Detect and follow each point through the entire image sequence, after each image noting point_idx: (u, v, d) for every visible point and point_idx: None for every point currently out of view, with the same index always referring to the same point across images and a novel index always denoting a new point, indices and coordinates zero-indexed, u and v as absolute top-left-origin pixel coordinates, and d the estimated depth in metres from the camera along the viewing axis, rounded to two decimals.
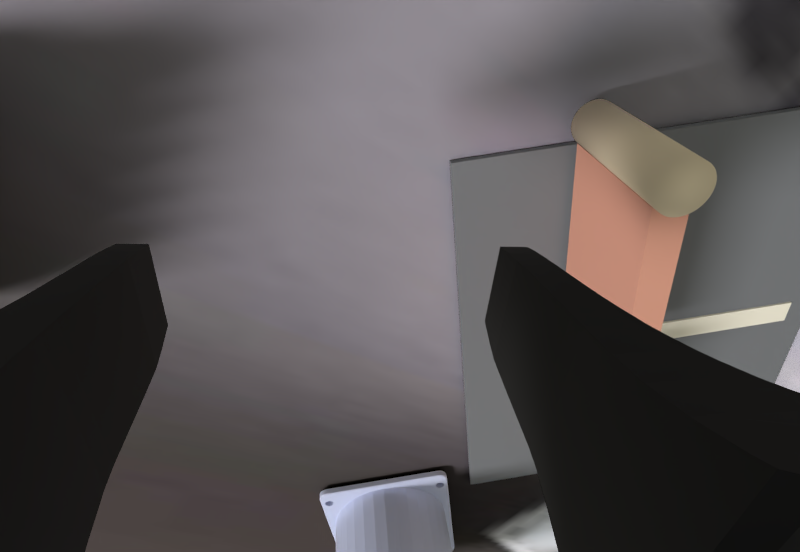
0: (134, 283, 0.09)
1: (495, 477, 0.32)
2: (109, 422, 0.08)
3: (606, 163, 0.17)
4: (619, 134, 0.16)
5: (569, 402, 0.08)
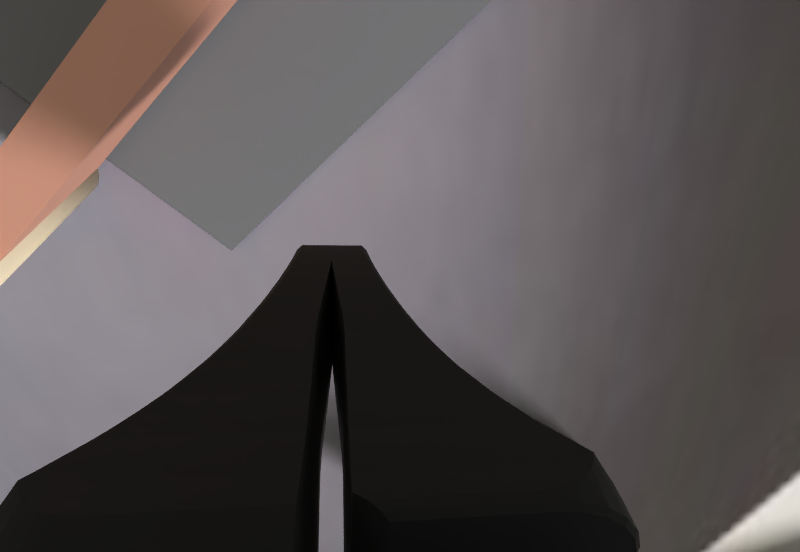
0: (331, 282, 0.09)
1: None
2: (322, 414, 0.09)
3: (55, 224, 0.14)
4: None
5: (343, 410, 0.07)
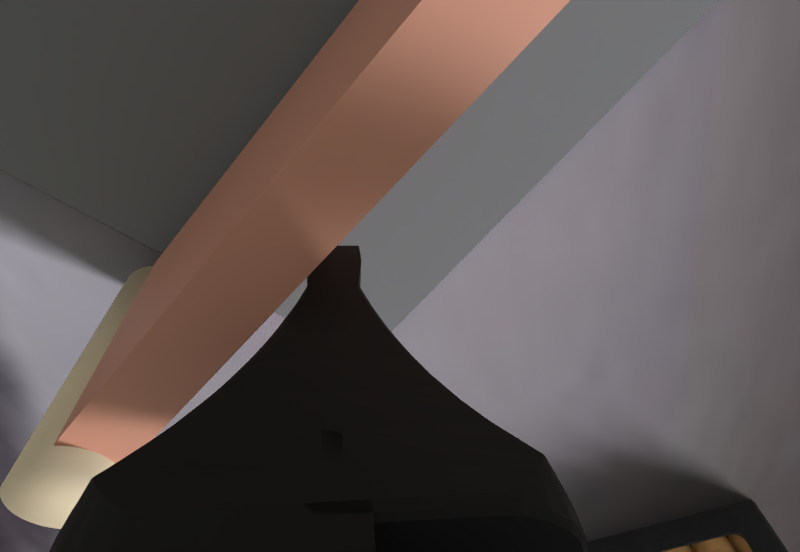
0: (359, 282, 0.10)
1: None
2: None
3: None
4: None
5: None
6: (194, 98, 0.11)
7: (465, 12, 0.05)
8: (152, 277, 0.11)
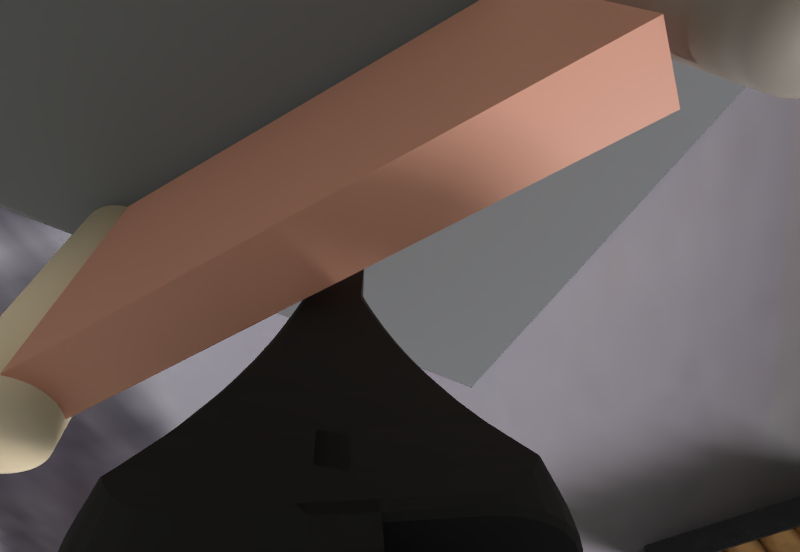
0: (362, 282, 0.10)
1: None
2: None
3: None
4: None
5: None
6: None
7: (594, 91, 0.06)
8: (137, 220, 0.10)
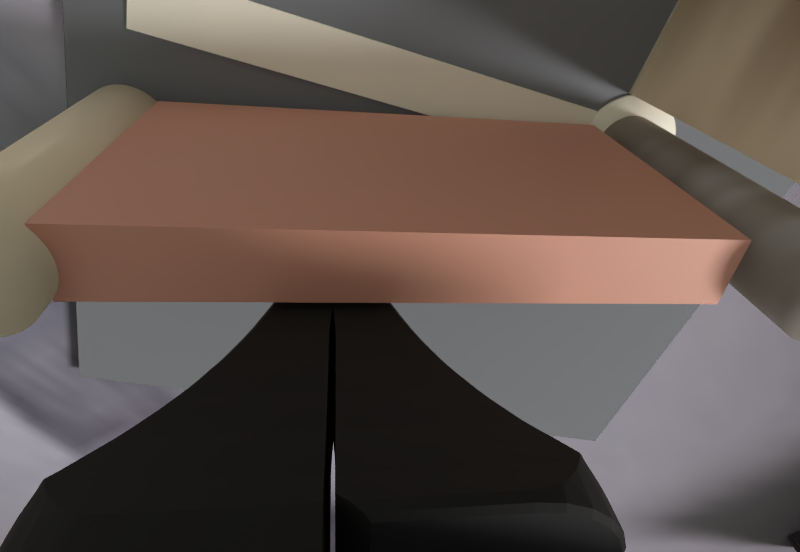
0: None
1: None
2: (333, 414, 0.09)
3: None
4: None
5: None
6: (445, 330, 0.16)
7: (684, 264, 0.08)
8: (185, 128, 0.09)
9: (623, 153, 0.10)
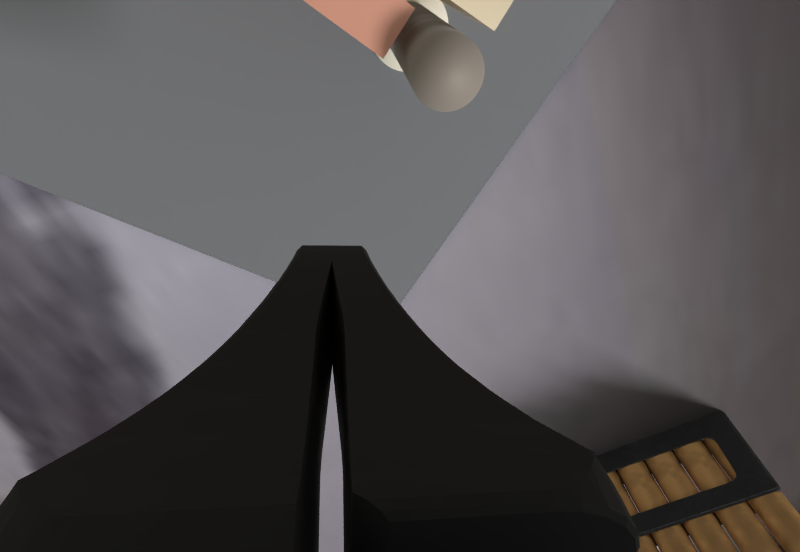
0: (331, 282, 0.09)
1: None
2: (322, 414, 0.09)
3: None
4: None
5: (343, 410, 0.07)
6: (254, 171, 0.18)
7: None
8: None
9: None
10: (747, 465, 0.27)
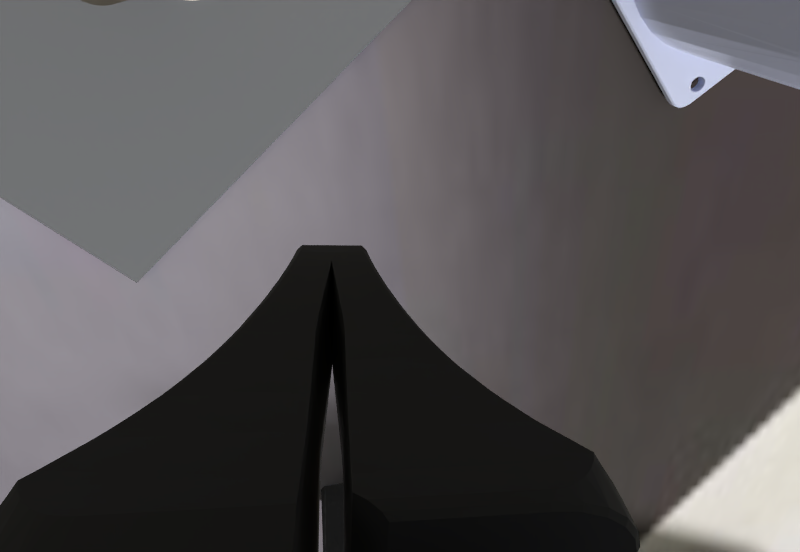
0: (331, 282, 0.09)
1: None
2: (322, 414, 0.09)
3: None
4: None
5: (343, 410, 0.07)
6: None
7: None
8: None
9: None
10: None
